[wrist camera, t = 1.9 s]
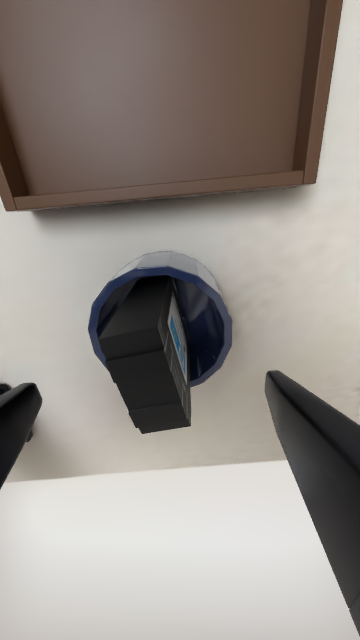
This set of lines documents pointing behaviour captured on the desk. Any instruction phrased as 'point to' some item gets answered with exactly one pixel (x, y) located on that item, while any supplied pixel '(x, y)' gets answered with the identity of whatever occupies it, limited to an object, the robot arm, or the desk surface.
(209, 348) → the cup
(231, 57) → the tray
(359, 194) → the desk surface
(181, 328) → the ink cartridge
